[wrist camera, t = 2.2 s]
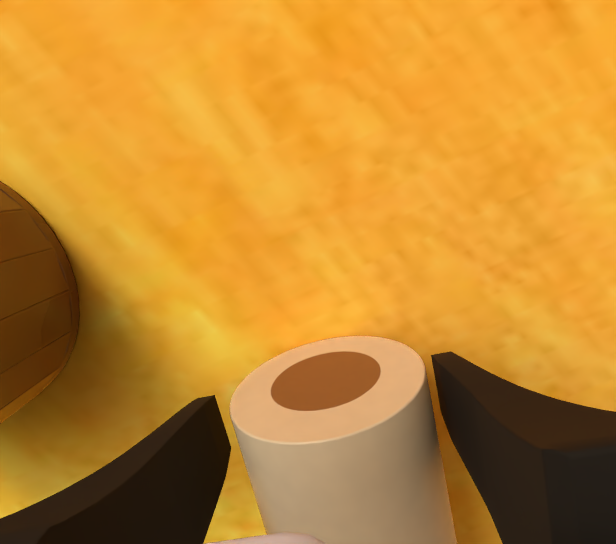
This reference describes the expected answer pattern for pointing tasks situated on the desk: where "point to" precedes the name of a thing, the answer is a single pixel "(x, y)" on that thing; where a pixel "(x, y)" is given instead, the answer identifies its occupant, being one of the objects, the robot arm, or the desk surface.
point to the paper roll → (345, 444)
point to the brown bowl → (32, 304)
